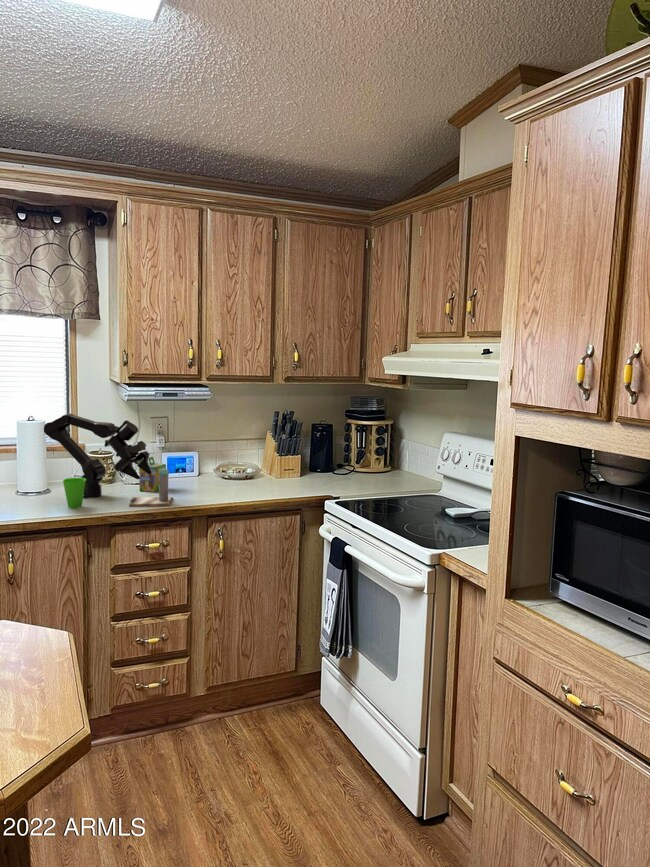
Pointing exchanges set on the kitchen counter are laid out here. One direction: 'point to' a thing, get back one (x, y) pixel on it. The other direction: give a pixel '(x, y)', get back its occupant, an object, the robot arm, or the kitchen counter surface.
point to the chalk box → (150, 477)
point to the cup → (74, 491)
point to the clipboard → (149, 502)
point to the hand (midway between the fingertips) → (145, 476)
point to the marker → (163, 485)
